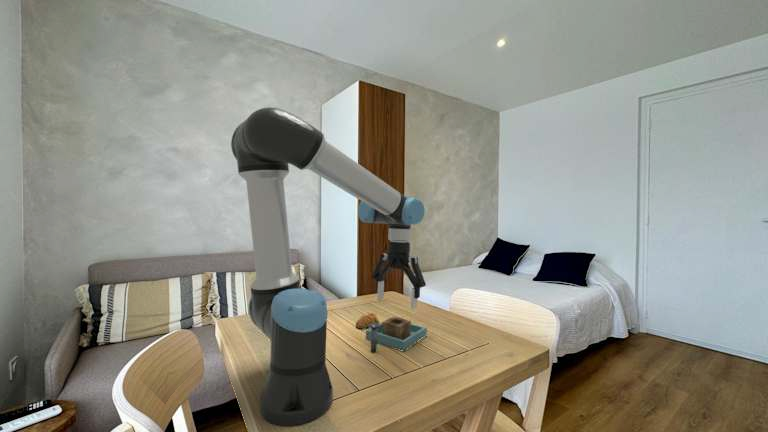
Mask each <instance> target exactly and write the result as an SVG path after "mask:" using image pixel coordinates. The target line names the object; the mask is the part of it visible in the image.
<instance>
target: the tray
mask: <svg viewBox="0 0 768 432" xmlns="http://www.w3.org/2000/svg"><path fill="white" fill-rule="evenodd" d="M378 324H379V327H378V328H377V344H379V343H380V344H379V345H382V344H383V345H382V346H385V345H387V346H386V347H388V346H390V347H389V348H391V347H393V348H392V349H394V348H397V349H400V350H403V351H405V350H406V349H407V348H409V347H410V346H411V345H413V344H414V343H415V342H417V341H418V340H419V339H421V338H422V337H424V336H425V335H426V334H427V333H428V332H427V329H428V328H427V327H425V326H421V325H418V324H415V323H414V324H413V323H411V335H410V336H409V337H407V338H406V339H404V340H401V339H398V338H394V337H391V336H388V335H385V334H382V322H379V323H378ZM427 335H428V334H427ZM365 340H367V341H370V342H371V328H366V330H365ZM413 346H414V345H413ZM410 348H411V347H410ZM410 348H409V349H410ZM397 349H396V350H397ZM400 350H399V351H400ZM403 351H402V352H403ZM406 351H407V350H406ZM406 351H405V352H406Z"/></svg>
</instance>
